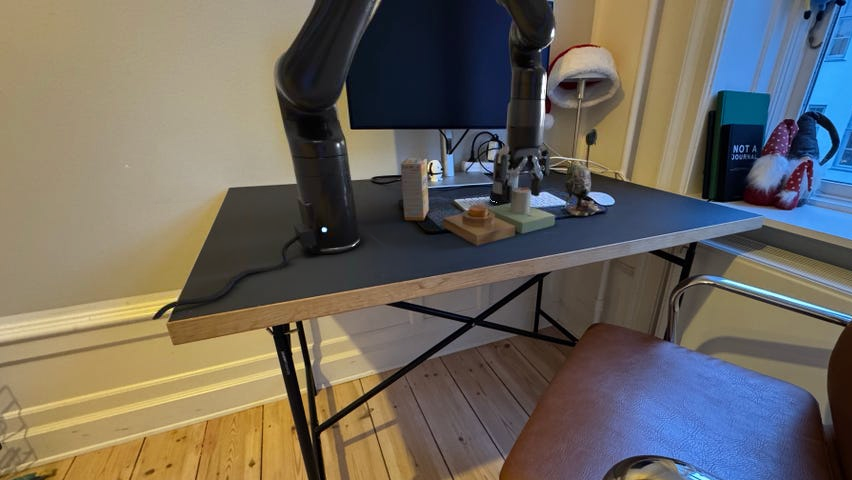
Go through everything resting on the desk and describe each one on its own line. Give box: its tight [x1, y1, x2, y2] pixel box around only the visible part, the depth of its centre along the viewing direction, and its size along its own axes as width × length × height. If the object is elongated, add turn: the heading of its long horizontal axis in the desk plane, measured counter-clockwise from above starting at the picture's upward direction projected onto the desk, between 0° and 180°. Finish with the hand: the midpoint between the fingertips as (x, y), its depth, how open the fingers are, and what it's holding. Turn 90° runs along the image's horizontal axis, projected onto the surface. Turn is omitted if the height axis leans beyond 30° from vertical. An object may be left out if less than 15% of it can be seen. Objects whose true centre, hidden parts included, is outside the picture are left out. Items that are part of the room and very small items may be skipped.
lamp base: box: [442, 209, 516, 246], centre depth 79 cm, size 10×13×4 cm
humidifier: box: [489, 102, 520, 207], centre depth 95 cm, size 8×8×25 cm
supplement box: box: [400, 157, 430, 221], centre depth 86 cm, size 8×5×13 cm, turn 179°
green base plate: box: [487, 203, 556, 235], centre depth 86 cm, size 10×13×3 cm
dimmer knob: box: [511, 186, 532, 214], centre depth 84 cm, size 4×4×5 cm
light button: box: [468, 204, 489, 217], centre depth 78 cm, size 4×4×2 cm
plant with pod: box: [564, 128, 602, 217], centre depth 90 cm, size 8×11×20 cm
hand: (521, 198), depth 84 cm, fingers open, 8 cm apart
